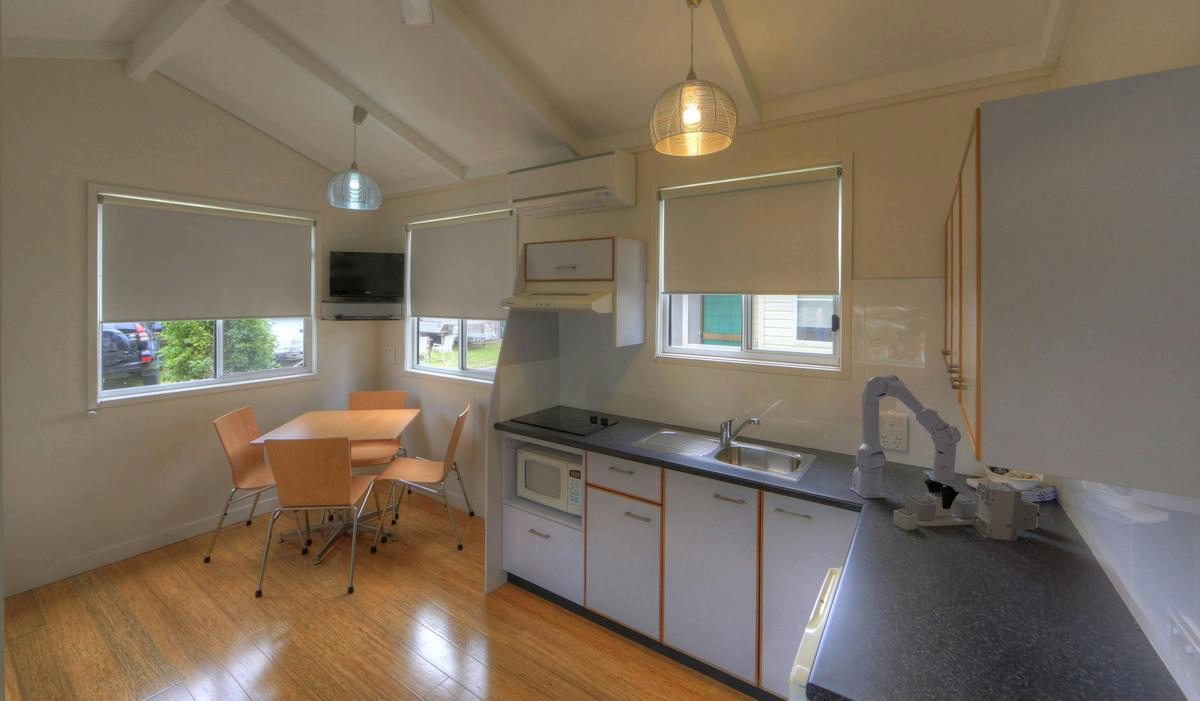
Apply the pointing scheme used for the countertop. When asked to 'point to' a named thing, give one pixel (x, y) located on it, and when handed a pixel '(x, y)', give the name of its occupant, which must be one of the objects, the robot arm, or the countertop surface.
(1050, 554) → the countertop surface
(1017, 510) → the circuit breaker
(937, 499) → the block
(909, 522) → the contactor
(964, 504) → the rail board
